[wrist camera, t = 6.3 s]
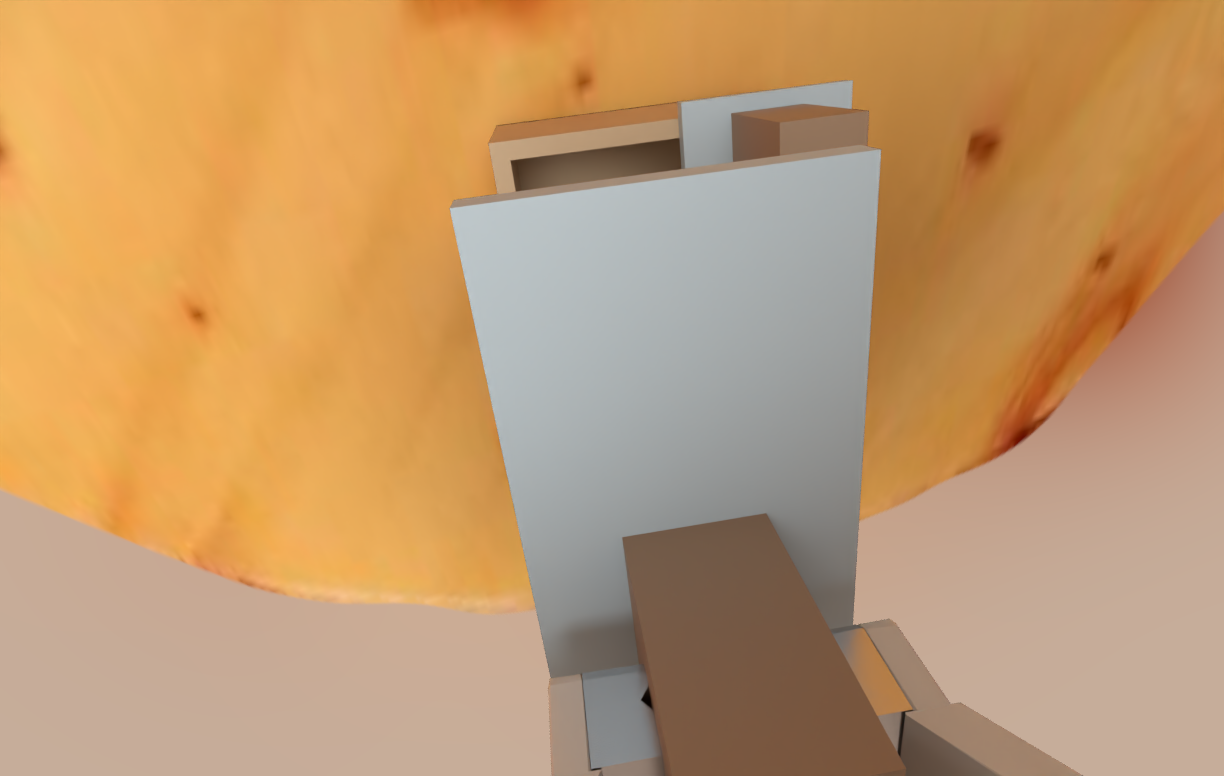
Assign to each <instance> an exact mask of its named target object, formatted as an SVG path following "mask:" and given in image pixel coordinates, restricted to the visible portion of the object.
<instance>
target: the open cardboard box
mask: <svg viewBox="0 0 1224 776" xmlns="http://www.w3.org/2000/svg"><path fill="white" fill-rule="evenodd" d="M488 144H489V150H490V155H491V161H492V166H493V172H494V177H495V183H496V188H497V194H502V193H509V192H517V191H524V190H531V189H539V188H546V187H553V186H561V185H568V184H576V183H583V182H590V181H598V180H605V179H612V178H620V177H627V176H634V175H642V174H649V173H657V172H664V171H671V170H679V169H681V154H680V139H679V124H678V108H677V102H675V103H667V104H660V105H652V106H644V107H636V108H629V109H621V110H613V111H606V112H598V113H590V114H583V115H575V116H567V117H560V118H552V119H544V120H537V121H529V122H521V123H513V124H506V125H498V126H496V128H495V130H494V132H493V135H492V137H491V139H490V141H489V143H488Z"/></svg>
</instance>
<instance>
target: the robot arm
mask: <svg viewBox="0 0 1224 776" xmlns="http://www.w3.org/2000/svg"><path fill="white" fill-rule="evenodd" d="M830 630H831V632H832V634H833V636H834V638H835V640H836V641H837V643H838V645H839V647H840V649H841V651H842V652H843V654H844V656H845V658H846V660H847V662H848V663H849V665H850V667H851V669H852V671H853V672H854V674H855V676H856V678H857V680H858V682H859V683H860V685H861V687H862V689H863V691H864V693H865V694H866V696H867V698H868V700H869V702H870V704H871V705H872V707H873V709H874V711H875V713H876V714H877V716H878V718H879V720H880V722H881V724H882V725H883V727H884V729H885V731H886V733H887V735H888V736H889V738H890V740H891V742H892V744H893V746H894V747H895V749H896V751H897V753H898V755H899V756H900V758H901V760H902V762H903V764H904V766H905V767H906V774H905V776H1083V775H1081V774H1079V773H1078V772H1076V771H1074V770H1073V769H1071V768H1069V767H1068V766H1066V765H1064V764H1063V763H1061V762H1059V761H1058V760H1056V759H1054V758H1052V757H1051V756H1049V755H1047V754H1046V753H1044V752H1042V751H1041V750H1039V749H1037V748H1036V747H1034V746H1032V745H1031V744H1029V743H1027V742H1026V741H1024V740H1022V739H1021V738H1019V737H1017V736H1015V735H1014V734H1012V733H1011V732H1009V731H1007V730H1005V729H1004V728H1002V727H1001V726H999V725H997V724H995V723H994V722H992V721H990V720H989V719H987V718H985V717H984V716H982V715H980V714H979V713H977V712H975V711H974V710H972V709H970V708H969V707H967V706H965V705H964V704H962V703H954V704H950V702H949V701H948V699H947V698H946V696H945V695H944V693H943V692H942V691H941V689H940V687H939V686H938V685H937V683H936V682H935V680H934V679H933V677H932V676H931V674H930V673H929V671H928V670H927V668H926V667H925V665H924V664H923V662H922V661H921V660H920V658H919V657H918V655H917V654H916V652H915V651H914V649H913V648H912V646H911V645H910V643H909V642H908V641H907V639H906V638H905V636H904V635H903V633H902V632H901V630H900V629H899V627H898V626H897V624H896V623H895V622H893V621H892V620H890V619H886V620H880V621H875V622H869V623H864V624H859V625H850V626H845V627H840V628H835V629H830ZM548 694H549V719H550V745H551V746H550V747H551V772H552V776H665V769H664V761H663V754H662V749H661V744H660V739H659V734H658V729H657V724H656V719H655V714H654V711H653V710H652V708H651V700H650V692H649V685H648V680H647V675H646V670H645V666H644V664H640V665H633V666H626V667H620V668H613V669H606V670H600V671H593V672H586V673H582V674H576V675H569V676H563V677H557V678H551V679H550V681H549V687H548Z"/></svg>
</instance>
